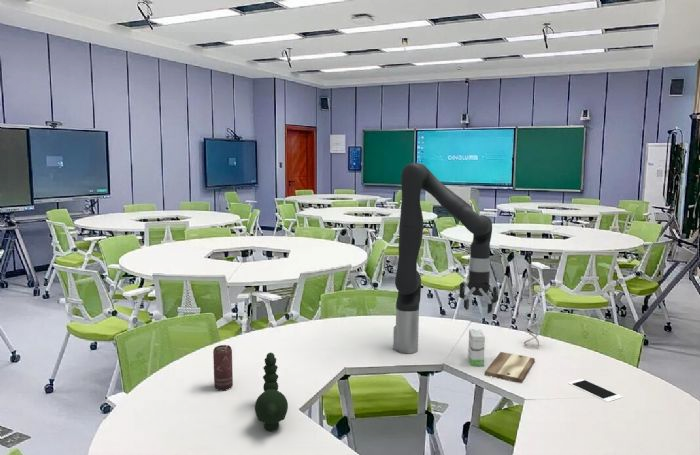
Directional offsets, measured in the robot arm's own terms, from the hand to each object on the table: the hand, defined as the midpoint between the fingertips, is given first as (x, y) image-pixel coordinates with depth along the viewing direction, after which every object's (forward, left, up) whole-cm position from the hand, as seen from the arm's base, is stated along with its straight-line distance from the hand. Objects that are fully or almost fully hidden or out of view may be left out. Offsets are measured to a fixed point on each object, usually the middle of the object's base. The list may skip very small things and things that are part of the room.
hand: (478, 311), depth 201 cm
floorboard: (+13, 0, -20) cm, 24 cm away
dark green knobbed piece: (-40, -75, -21) cm, 87 cm away
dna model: (+15, +28, -20) cm, 38 cm away
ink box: (0, 0, -20) cm, 20 cm away
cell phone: (+42, -3, -21) cm, 47 cm away
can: (-67, -66, -20) cm, 96 cm away
